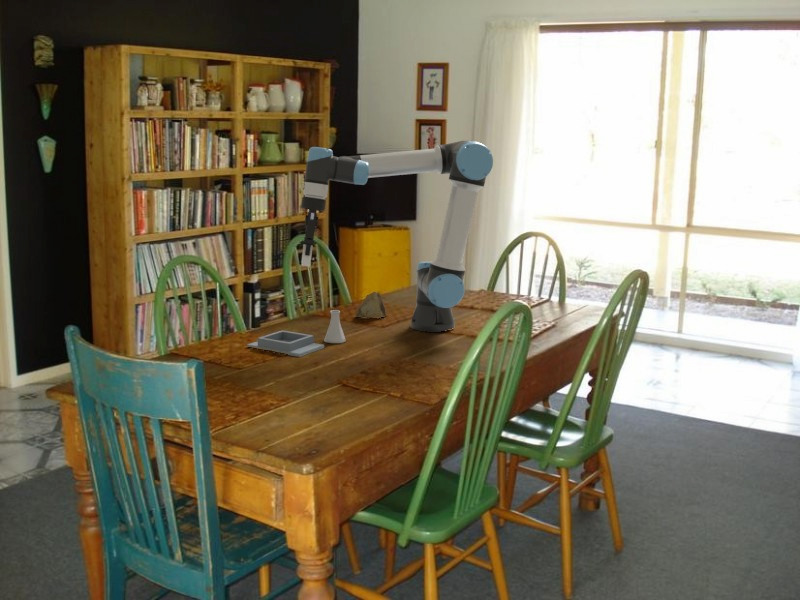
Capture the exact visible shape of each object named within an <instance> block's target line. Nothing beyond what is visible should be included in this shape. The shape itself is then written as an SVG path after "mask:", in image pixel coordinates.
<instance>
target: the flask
mask: <svg viewBox="0 0 800 600" xmlns="http://www.w3.org/2000/svg"><path fill="white" fill-rule="evenodd" d="M329 312H330V314H331V315H330V322H329V326H328V328H327V332H326V334H325V337H324V340H323V341H324V343H328V344H343V343H346V341H347V339H346V337H345V334H344V331H343V328H342V325H341V321H340V313H341V311H340V310H339V309H338V310H337V309H335V310H334V309H333V310H332V309H331V310H330V311H329Z"/></svg>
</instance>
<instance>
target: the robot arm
mask: <svg viewBox="0 0 800 600" xmlns="http://www.w3.org/2000/svg"><path fill="white" fill-rule="evenodd" d="M307 153H308V154H307V160H306V166H305V175H304V183H303V184H302V185H301V189H303V191H302V195H304V196H302V198H301V204H300V208H301V209H305V210H308V212H307V214H305V217H304V218H305V219H304V221H305V223H304V225H305V226H304V227H305V234H304V237H303V238H304V239H303V240H302V243H301V245H302V246H303V247H302V254H301V261H300V263H301V266H302V267H308V268H310V267H311V263H312V261H311V260H312V257H313V256H312V255H313V248H314V246H313V245H314V244H315V240H314V238H315V231H316V229H317V224H318V221H319V216H318V214H317V211H319V212H324V211H325V210H326V203H327V200H326V198H328V191H329V182H330V181H334V182H339V183H340V182H341V183H346V184H353V185H359V186H360V185H362V186H364V185H366V184H367V182H368V179H370V178H380V177H391V176H400V175H401V176H403V175H413V174H425V173H434V172H435V173H437V174H438V175H443V174H447V175H449V176H448V182H449V183H450V185H451V189H450V195H449V198H448V204H447V208H446V213H445V216H444V222H443V226H442V231H441V235H440V240H439V245H438V249H437V254H436V257H435V259H433V260H432V261H420V262H419V263H417V269H416V305H415V308H414V311H413V313H412V317H411V321H410V328H411V329H413V330H415V331H420V332H425V331H427V333H428V332H429V333H442V332H441V331H445V330H448V329H452V328H454V327H455V328H456V326H455V324H456V322H455V321H456V320H455V318H454V315H453V311H452V307H455V306H457V305H458V304H459V303H460V302H461V301H462V300H463V297H464V295H465V284H464V278H465V273H466V268H465V266H464V265H463V262H464V257H465V256H464V255H465V251H466V247H467V242H468V239H469V235H470V234H469V233H470V228H471V225H472V221H473V216H474V212H475V211H474V210H475V208H476V207H475V206H476V203H477V197H478V193H479V191H480V190H482V189H483V188H485V184H486V180H487V177H488V176H489V174H490V173H491V172H492V169H493V167H494V156H493V154H492V152H491V149H489V147H487V146H486V145H485V144H483V143H481V142H478V141H473V140H459V141H455V142H451V143H445V144H436V145H435V146H434V147H433V148H426V149H415V150H403V151H394V152H393V151H392V152H384V153H383V152H381V153H373V154H372V153H370V154H361V155H360V154H359V155H350V156H346V155H342V156H339V157H338V156H335V155H334V154H333V153H334V152H333V150H332V149H330V148H326V147H318V146H312V147H310V148H309V149H308V152H307ZM455 328H454V329H455ZM445 332H446V331H445Z"/></svg>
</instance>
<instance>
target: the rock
mask: <svg viewBox="0 0 800 600" xmlns="http://www.w3.org/2000/svg"><path fill="white" fill-rule="evenodd" d="M383 316H387V312H386V307H385V305H384V302H383V298H382V295H380V292H376V291H373V292H370V293H369V294H367V295H366V296H365V298H364V299H363V300H362V301H361V303H360V304H359V305H358V306H357V310H356V313H355V318H356V317H383Z"/></svg>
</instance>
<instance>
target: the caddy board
mask: <svg viewBox="0 0 800 600" xmlns="http://www.w3.org/2000/svg"><path fill="white" fill-rule="evenodd" d="M246 345H247V346H248V347H255V348H261V349H266V350H272V351H276V352H281V353H286V354H288V355H287V356H292V357H296V358H301V357H304V356H305V355H306V356H307V355H309V354H312V353H314V352H317V351H320V350H323V349H325V344H323V343H322V344H321V343H315V336H314V335H313V334H305V333H301V332H296V331H295V332H294V331H288V330H279V331H275V332H273V333H269V334H267V335H263V336H260V337H259V336H258V337H257V341H254V342H251V343H250V342H249V343H247V344H246ZM286 354H285V355H286Z"/></svg>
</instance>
